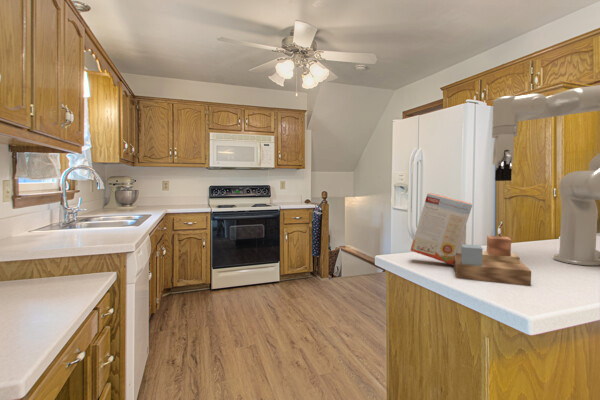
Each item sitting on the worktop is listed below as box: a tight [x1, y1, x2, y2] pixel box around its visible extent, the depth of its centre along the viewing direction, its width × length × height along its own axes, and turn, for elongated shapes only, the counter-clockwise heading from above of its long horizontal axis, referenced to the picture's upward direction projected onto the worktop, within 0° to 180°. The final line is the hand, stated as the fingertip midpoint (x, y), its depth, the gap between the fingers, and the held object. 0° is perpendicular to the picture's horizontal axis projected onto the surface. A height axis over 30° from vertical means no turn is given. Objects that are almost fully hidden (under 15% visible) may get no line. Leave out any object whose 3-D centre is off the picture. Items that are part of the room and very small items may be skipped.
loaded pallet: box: [482, 235, 521, 264], centre depth 97 cm, size 10×6×7 cm, turn 66°
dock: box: [453, 253, 532, 287], centre depth 96 cm, size 18×16×4 cm
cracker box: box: [410, 192, 473, 266], centre depth 107 cm, size 14×6×21 cm, turn 63°
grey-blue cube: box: [461, 243, 484, 266], centre depth 93 cm, size 5×5×5 cm
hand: (502, 180), depth 114 cm, fingers open, 9 cm apart
